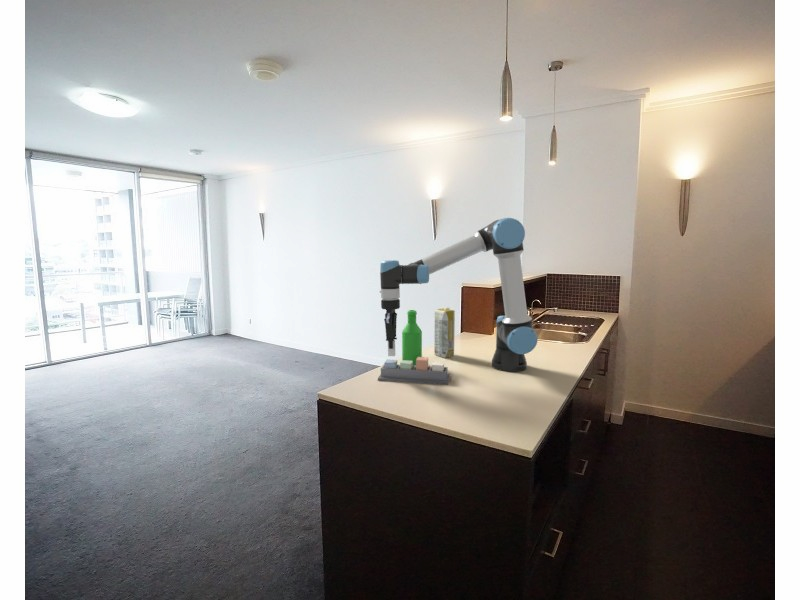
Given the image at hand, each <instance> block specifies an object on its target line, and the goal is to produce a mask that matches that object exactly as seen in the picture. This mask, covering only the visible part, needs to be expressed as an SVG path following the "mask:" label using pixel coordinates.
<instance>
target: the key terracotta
mask: <svg viewBox="0 0 800 600" xmlns="http://www.w3.org/2000/svg"><path fill="white" fill-rule="evenodd" d="M428 366H429V357H425V356H422V357H417V359H416V370H427V371H428Z"/></svg>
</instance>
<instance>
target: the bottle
mask: <svg viewBox="0 0 800 600" xmlns="http://www.w3.org/2000/svg"><path fill="white" fill-rule="evenodd" d="M406 314H407V324H406V325H405V326H404V328H403V329H402V330H401V331H402V332H401V334H402V336H401V343H402V344H401V348H402V349H401V353H402V354H401V356H402V357H401V358H402V360H408V361H413V365H416V359H417V357H423V352H422V351H423V348H422V347H423V344H422V343H423V338H422V336H423V331H422V329H421V328H420V326H419V325H418V323H417V314H418V312H417V310H414V309H410V310H407V313H406ZM402 360H401V361H402Z"/></svg>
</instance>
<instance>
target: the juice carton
mask: <svg viewBox="0 0 800 600" xmlns="http://www.w3.org/2000/svg"><path fill="white" fill-rule="evenodd" d="M455 312H456V311H455V310H453V309H451V308H450V307H449V306H445V307H444V308H436V309H434V346H433V347H434V355H435V356H437V357H441V358H443V359H445V358H446V359H447V358H451V357H454V356H455V331H456V330H455V327H456V326H455V321H456V320H455V319H456V318H455V314H456V313H455Z"/></svg>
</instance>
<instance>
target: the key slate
mask: <svg viewBox="0 0 800 600" xmlns="http://www.w3.org/2000/svg"><path fill="white" fill-rule="evenodd" d="M384 364H385V368H391V369H397V365H398V359H386V360H385V361H384Z"/></svg>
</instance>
